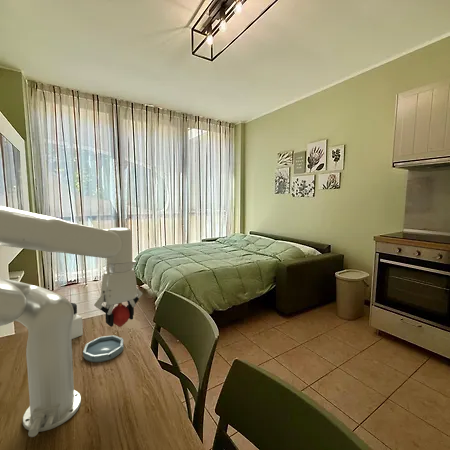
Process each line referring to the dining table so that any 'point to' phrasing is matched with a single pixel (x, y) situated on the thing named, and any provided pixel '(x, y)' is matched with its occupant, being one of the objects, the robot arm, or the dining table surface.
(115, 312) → the onion
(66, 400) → the robot arm
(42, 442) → the dining table surface
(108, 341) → the dish
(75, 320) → the container
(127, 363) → the dining table surface
